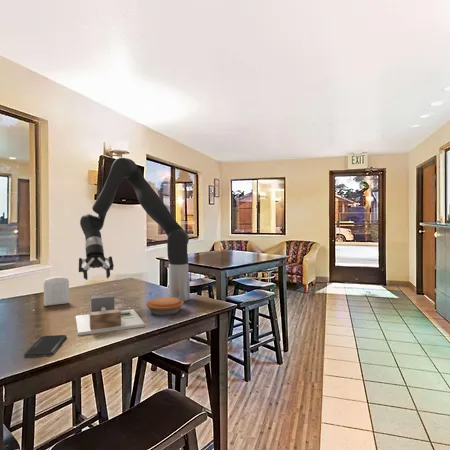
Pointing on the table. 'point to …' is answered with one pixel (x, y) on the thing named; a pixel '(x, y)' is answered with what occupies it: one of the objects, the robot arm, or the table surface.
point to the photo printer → (56, 291)
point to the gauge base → (126, 323)
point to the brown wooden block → (105, 319)
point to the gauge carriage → (103, 303)
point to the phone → (45, 346)
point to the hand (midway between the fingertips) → (97, 277)
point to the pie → (164, 305)
